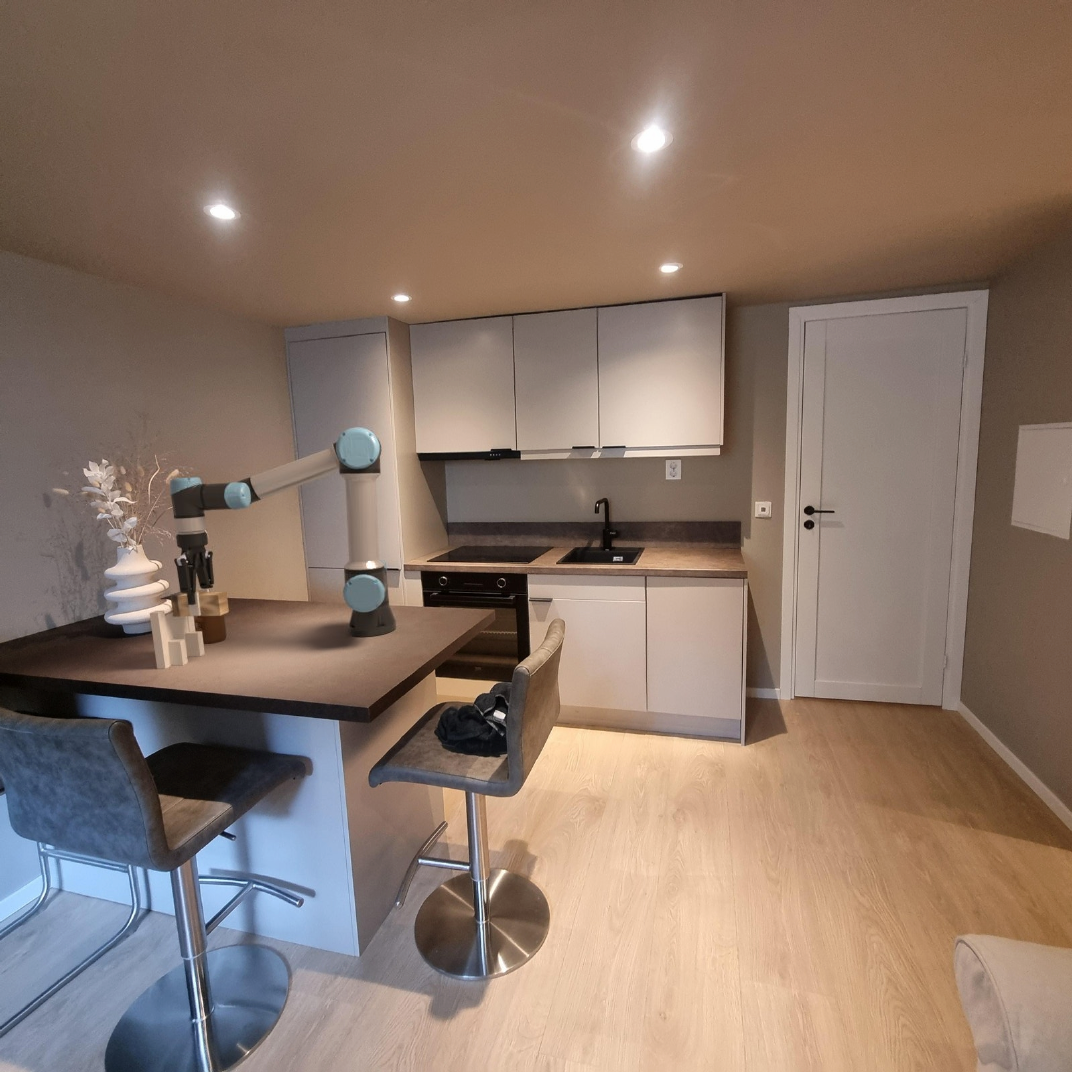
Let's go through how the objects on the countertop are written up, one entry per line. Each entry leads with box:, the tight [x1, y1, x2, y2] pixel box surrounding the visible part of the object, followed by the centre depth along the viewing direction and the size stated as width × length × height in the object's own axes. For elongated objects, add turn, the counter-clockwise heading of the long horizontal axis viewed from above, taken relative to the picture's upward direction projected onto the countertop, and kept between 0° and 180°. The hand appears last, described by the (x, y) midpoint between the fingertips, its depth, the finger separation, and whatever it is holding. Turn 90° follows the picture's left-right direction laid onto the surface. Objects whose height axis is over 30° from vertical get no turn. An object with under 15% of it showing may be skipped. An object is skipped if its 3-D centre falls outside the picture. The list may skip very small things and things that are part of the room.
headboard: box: [149, 610, 206, 670], centre depth 164 cm, size 6×14×16 cm, turn 177°
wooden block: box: [169, 591, 230, 617], centre depth 162 cm, size 14×4×6 cm, turn 87°
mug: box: [194, 614, 227, 644], centre depth 180 cm, size 12×8×9 cm, turn 159°
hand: (200, 612), depth 162 cm, fingers closed on wooden block, 4 cm apart
